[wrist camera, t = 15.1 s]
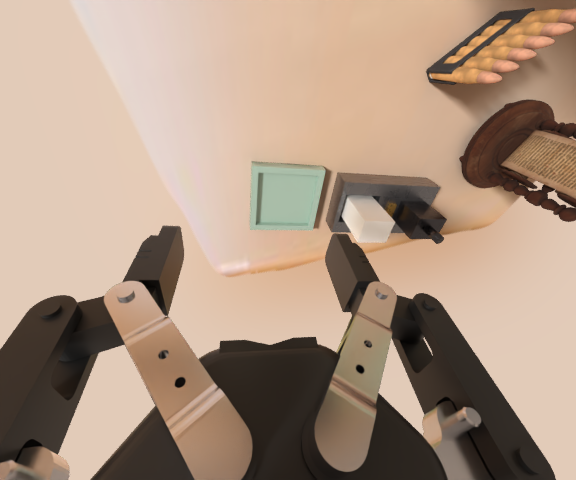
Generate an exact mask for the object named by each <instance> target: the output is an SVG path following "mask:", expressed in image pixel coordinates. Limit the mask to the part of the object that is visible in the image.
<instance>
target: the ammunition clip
mask: <svg viewBox="0 0 576 480" xmlns="http://www.w3.org/2000/svg"><path fill="white" fill-rule="evenodd" d="M532 11H533V12H532ZM575 22H576V9H569V10H568V9H565V10H558V9H549V10H541V11H535V9H534V8H530V9H522V10H513V11H504V12H500V13H498V14H497V15H496V16H494V17H493V18H492V19H491V20H489V21H488V22H487V23H486V24H484V25H483V26H482V27H480V28H479V29H478V30H477V31H475V32H474V33H473V34H472V35H470V36H469V37H468V38H466V39H465V40H464V41H463V42H461V43H460V44H459V45H458V46H456V47H455V48H454V49H452V50H451V51H450V52H449V53H447V54H446V55H445V56H444V57H442V58H441V59H440V60H438V61H437V62H436V63H435V64H433V65H432V66H431V67H430V68H428V69H427V71H426V72H427V76H428V79H429V82H434V83H443V84H451V85H454V84H456V83H457V82H458V83H465V84H472V83H482V84H491V83H496V82H499V81H501V80H502V79H503V78H502V77H501V76H500V75H498V74H496V73H495V72H497V73H503V72H510V71H514V70H516V69H518V68H519V65H518V64H516V63H514V62H512V61H523V60H527V59H531V58H533V57H535V56H536V55H537V53H536V52H534V51H532V50H530V49H539V48H543V47H547V46H549V45H552V44H554V43H555V40H554V39H552V38H549V37H552V36H558V35H561V34H565V33H567V32H570V31H572V30H573V29H574V26H572V25H570V23H575Z"/></svg>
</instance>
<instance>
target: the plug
mask: <svg viewBox="0 0 576 480" xmlns="http://www.w3.org/2000/svg"><path fill="white" fill-rule="evenodd" d="M340 215H341V216H342V218H343V220H344V221H345V223H346V224H347V226H348V228H349V229H350V231H351V233H352V234H353V236H354V237H355V239H356V241H357V242H385V243H386V241H387V239H388V237H389V235H390V232H391V230H392V228H393V226H394V224H395V221H394V220H393V219H392V218H391V217H390V215H389V214H388V213H387V212H386V211H385V210H384V209H383V208H382V207H381V206H380V204H379V203H378V202H377V201H376V200H375V199H374V198H373V197H372V196H362V195H346V197H345V200H344V204H343V207H342V211H341V214H340Z"/></svg>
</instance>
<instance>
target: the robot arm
mask: <svg viewBox="0 0 576 480" xmlns="http://www.w3.org/2000/svg"><path fill="white" fill-rule="evenodd" d="M183 260H184V248H183V240H182V233H181V228H180V227H179V226H163V227H162V229H161V231H160V233H159V235H158V236H152V235H151V236H150V237H149V238H147V239H146V240H145V241H144V242H143V243H142V245H141V247H140V249H139V252H138V253H137V255H136V258H135V259H134V260H133V262H132V264H131V266H130V268H129V270H128V272H127V274H126V276H125V278H124V280H123V282H122V283H119V284H117V285H115V286H113V287H112V288H111V289H109V291H108V292H107V293H106V294H105V296H102V297H99V298H95V299H91V300H86V301H82V302H78V303H77V302H76V300H75V299H74V298H73V297H70V296H66V295H60V296H54V297H50V298H47V299H45V300H43V301H41V302H39V303H37V304H36V305H34V306H33V307H32V308H31V309H30V310H29V311H28V312H27V313H26V315H25V316H24V317H23V319H22V320H21V322H20V323H19V324H18V326H17V327H16V329H15V330H14V331H13V333H12V334H11V336H10V337H9V338H8V340H7V341H6V343H5V344H4V345H3V347H2V348H1V349H0V480H68V478H69V465H68V463H67V461H66V460H65V459H64V458H62V457H61V456H59V455H58V453H59V450H60V447H61V445H62V443H63V440H64V438H65V435H66V433H67V430H68V427H69V425H70V423H71V420H72V418H73V415H74V413H75V410H76V408H77V405H78V403H79V400H80V398H81V395H82V393H83V390H84V388H85V385H86V383H87V380H88V378H89V376H90V373H91V370H92V368H93V366H94V363H95V361H96V358H97V356H98V353H99V352H102V351H105V350H109V349H111V348H115V347H118V346H121V345H124V344H125V346H126V348H127V350H128V352H129V354H130V356H131V358H132V359H133V362H134V364H135V366H136V368H137V370H138V372H139V374H140V376H141V378H142V380H143V382H144V384H145V386H146V388H147V390H148V392H149V394H150V396H151V398H152V400H153V402H154V404H155V407H154V408H153V409H152V410H151V411H150V413H149V414H148V415H147V416H146V417H145V418H144V419H143V421H142V422H141V423H140V424H139V425H138V427H136V429H135V430H134V431H133V432H132V433H131V434H130V435H129V437H128V438H127V439H126V440H125V441H124V442H123V443H122V444H121V446H120V447H119V448H118V449H117V450H116V451H115V452H114V454H113V455H112V456H111V457H110V458H109V459H108V460H107V461H106V463H105V464H104V465H103V466H102V467H101V468H100V469H99V471H98V472H97V473H96V474H95V475H94V476H93V477H92V478H91V480H556V479H555V475H554V472H553V470H552V468H551V466H550V464H549V463H548V461H547V460H546V458H545V457H544V455H543V454H542V452H541V451H540V449H539V448H538V446H537V445H536V443H535V442H534V440H533V439H532V438H531V436H530V434H529V433H528V432H527V430H526V428H525V427H524V426H523V424H522V423H521V421H520V420H519V418H518V417H517V415H516V414H515V412H514V411H513V409H512V408H511V406H510V405H509V403H508V402H507V401H506V399H505V398H504V396H503V394H502V393H501V391H500V390H499V389H498V387H497V386H496V384H495V383H494V381H493V380H492V378H491V377H490V375H489V374H488V373H487V371H486V369H485V368H484V366H483V365H482V363H481V362H480V360H479V359H478V357H477V356H476V355H475V353H474V352H473V350H472V349H471V347H470V346H469V344H468V343H467V341H466V340H465V338H464V337H463V336H462V334H461V332H460V331H459V329H458V328H457V327H456V325H455V323H454V322H453V321H452V319H451V318H450V316H449V315H448V313H447V312H446V310H445V309H444V307H443V306H442V305H441V303H440V302H439V301H438V300H437V299H435V298H434V297H432V296H430V295H428V294H424V293H419V294H416V295H415V296H414V298H413V299H409V298H406V297H402V296H398V295H396V293H395V292H394V290H393V289H392V288H391V287H389V286H388V285H386V284H384V283H382V282H380V281H379V279H378V277H377V275H376V273H375V272H374V270H373V268H372V266H371V264H370V263H369V261H368V259H367V258H366V255H365V254H364V252H363V250H362V249H361V248H360V247H359V246H358V245H357V244H356V243H352V242H351V240H350V238H349V236H348V235H347V234H333V235H332V237H331V240H330V243H329V246H328V249H327V252H326V257H325V262H326V266H327V269H328V272H329V274H330V277H331V280H332V283H333V286H334V288H335V291H336V294H337V297H338V300H339V302H340V305H341V308H342V311H343V312H351V314H352V317H351V319H350V322H349V324H348V326H347V329H346V331H345V333H344V336H343V338H342V340H341V343H340V345H339V347H338V350H337V352H334V351H332V350H331V349H329V348H327V347H324V346H322V345H318V344H317V340H316V337H304V338H303V337H302V338H292V339H288V340H285V341H282V342H279V343H276V344H273V345H267V344H262V343H257V342H252V341H247V340H234V341H220V349H217V350H214V351H211V352H209V353H207V354H206V355H204V356H202V357H201V358H199V359H198V358H197V357H196V355H195V354H194V352H193V351H192V349H191V348H190V346H189V345H188V343H187V342H186V340H185V339H184V337H183V336H182V335H181V333H180V332H179V330H178V329H177V327H176V326H175V324H174V323H173V322H172V320H171V319H170V318H169V317H168V313H169V310H170V306H171V303H172V298H173V295H174V292H175V289H176V285H177V281H178V278H179V275H180V271H181V267H182V264H183ZM165 316H167V317H165ZM424 337H425V339H426V341H427V342H428V344H429V346H430V348H431V350H432V354H433V356H432V354H431V352H430V351H429V349H428V347H427V345H426V343H425V341H424V339H423V338H424ZM391 338H392V340H393V342H394V345H395V347H396V349H397V351H398V354H399V356H400V359H401V361H402V363H403V365H404V368H405V370H406V373H407V375H408V377H409V379H410V382H411V384H412V387H413V389H414V391H415V394H416V396H417V398H418V400H419V403H420V405H421V407H422V410H423V412H424V414H425V415H424V417H423V422H422V425H423V430H424V433H423V436H422V435H421V434H420V433H419V432H418V431H417V430H416V429H415V428H414V427H413V426H412V425H411V424H410V423H409V422H408V421H407V420H406V419H405V418H404V417H403V416H402V415H401V414H400V413H399V412H398V411H397V410H395V409H394V408H393V407H392V406H391V405H390V404H389V403H388V402H387V401H386V400H385V399H384V398H383V397H382V396H381V395H380V394H379V393H378V392H379V388H380V384H381V379H382V375H383V371H384V367H385V362H386V358H387V354H388V350H389V345H390V341H391Z"/></svg>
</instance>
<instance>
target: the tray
mask: <svg viewBox="0 0 576 480" xmlns="http://www.w3.org/2000/svg"><path fill="white" fill-rule="evenodd" d="M325 172H326V170H325V169H324V167H323V166H314V165H299V164H283V163H268V162H252V168H251V199H250V230H313V227H314V222H315V218H316V213H317V208H318V204H319V199H320V195H321V190H322V186H323V181H324V176H325Z"/></svg>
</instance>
